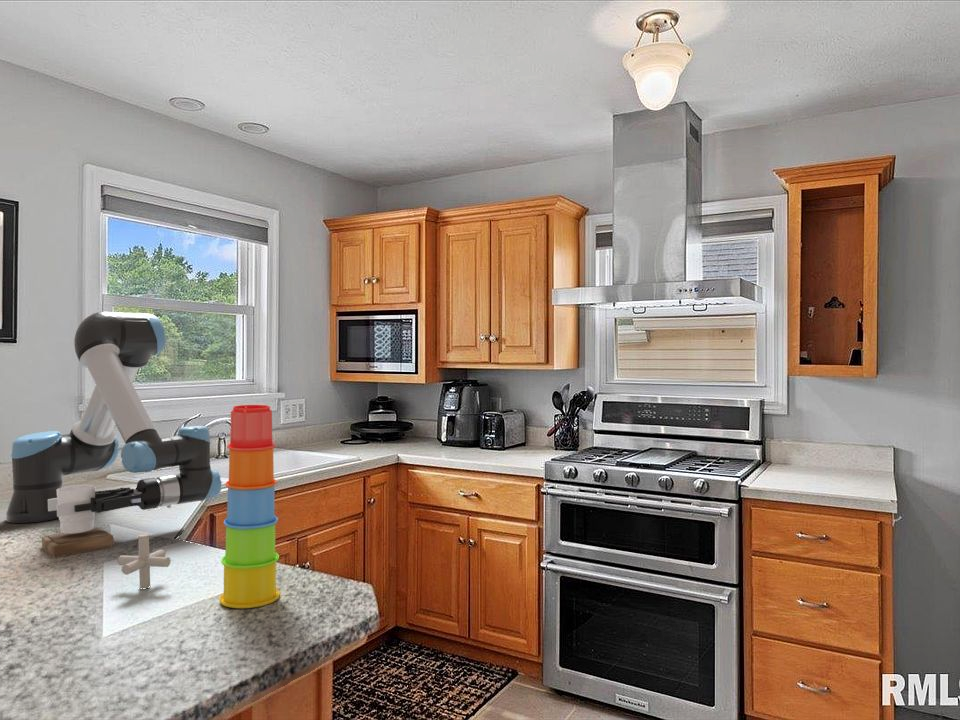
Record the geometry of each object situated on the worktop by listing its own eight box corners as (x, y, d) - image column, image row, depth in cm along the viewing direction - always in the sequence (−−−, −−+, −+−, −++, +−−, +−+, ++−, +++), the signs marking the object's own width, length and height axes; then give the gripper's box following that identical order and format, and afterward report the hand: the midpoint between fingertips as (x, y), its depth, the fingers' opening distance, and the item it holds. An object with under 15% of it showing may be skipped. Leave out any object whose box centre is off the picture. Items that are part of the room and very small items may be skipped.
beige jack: (151, 598, 127) (149, 543, 127) (103, 595, 129) (101, 541, 129) (184, 580, 137) (183, 529, 137) (139, 578, 139) (138, 528, 139)
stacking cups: (275, 586, 132) (270, 402, 132) (284, 603, 123) (279, 405, 122) (217, 595, 128) (211, 405, 127) (222, 613, 118) (216, 409, 118)
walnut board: (41, 547, 164) (41, 535, 164) (98, 537, 172) (98, 526, 172) (54, 557, 155) (54, 545, 155) (113, 546, 163) (113, 534, 163)
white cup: (59, 528, 165) (58, 486, 165) (97, 524, 169) (96, 483, 168) (55, 536, 158) (54, 492, 158) (95, 531, 161) (94, 488, 161)
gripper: (172, 513, 168) (64, 531, 152) (143, 501, 183) (42, 517, 167) (171, 482, 168) (63, 497, 152) (142, 473, 183) (41, 486, 167)
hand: (52, 507), depth 160 cm, fingers open, 8 cm apart
